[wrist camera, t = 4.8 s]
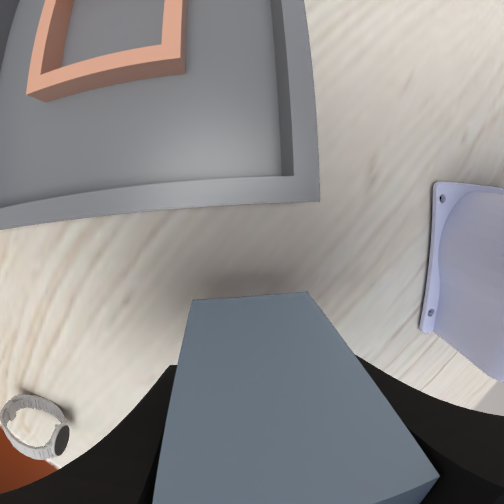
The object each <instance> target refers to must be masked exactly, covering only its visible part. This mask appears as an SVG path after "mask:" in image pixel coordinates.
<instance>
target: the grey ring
mask: <svg viewBox="0 0 504 504" xmlns="http://www.w3.org/2000/svg"><path fill="white" fill-rule="evenodd" d="M17 396H18V397H17ZM17 396H14V397H13V398H12V399H11V400H9V401H8V402H7V403H6V404H5V406H4V407H3V409H2V410H1V412H0V421H1V423H2V426H3V429H4V432H5V434H6V436H7V437H8V439H9V440H10V441H11V443H12V445H13V446H14V447H16V449H17V450H18V451H20V452H21V453H23V454H24V455H26V456H28V457H31V458H33V459H37V460H38V459H39V460H43V459H47V458H54V457H55V456H60V455H61V454H62V453H63V452H64V450H65V448H66V446H67V443H68V440H69V427H68V425H67V424H66V419H65V417H64V415H63V413H62V411H61V410H60V408H59V407H58V406H57V405H55V403H53V402H51V401H50V400H49V401H48V400H47V399H45V398H43V397H41V398H40V397H39V396H34V395H33V396H32V395H27V394H26V395H24V394H21V395H17ZM23 400H24V401H23ZM28 402H29V403H28ZM27 407H28V408H33V409H34V407H35V409H39V410H42V409H43V411H46V412H48V413H49V412H50V413H51V414H52V415H54V416H55V417H56V418H57V419H58V420H59V421H60V422H61V424H59V425H57V424H56V425H55V428H56V429H55V430H54V432H53V434H52V437H51V439H50V440H49V442H47V443H46V445H45V446H44V447H43V446H41V447H36V448H35V447H33V446H29V445H26V444H24V443H22V442H21V441H19V440H18V439H16V438H15V437H14V436H13V435H12V434H11V432H10V431H9V430H8V428H7V422H8V421H9V420H10V421H12V420H14V418H15V417H16V411H18V410H19V409H20V408H27ZM50 447H51V449H50Z"/></svg>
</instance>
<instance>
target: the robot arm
mask: <svg viewBox="0 0 504 504" xmlns="http://www.w3.org/2000/svg"><path fill="white" fill-rule="evenodd" d="M440 195H441V201H440V200H439V197H440ZM430 309H431V310H430ZM429 310H430V312H429ZM428 312H429V313H428ZM420 331H422V332H423V333H430V332H434V333H436V334H437V335H438V336H440V337H441V338H442V339H443V340H445V341H446V342H447V343H448V344H450V345H451V346H452V347H453V348H455V349H456V350H457V351H458V352H460V353H461V354H462V355H463V356H465V357H466V358H467V359H468V360H469V361H471V362H472V363H473V364H474V365H475V366H477V367H478V368H479V369H480V370H482V371H483V372H484V373H485V374H487V375H488V376H490V377H492V378H494V379H496V380H498V381H500V382H503V383H504V188H499V187H491V186H483V185H474V184H464V183H454V182H443V181H438V182H436V183H435V184H434V186H433V211H432V232H431V246H430V257H429V267H428V276H427V284H426V291H425V298H424V304H423V310H422V316H421V321H420ZM354 355H355V354H354ZM355 356H356V358H357V359H358V360H359V362H360V363H361V364H362V366H363V367H364V369H365V370H366V371H367V373H368V374H369V375H370V377H371V378H372V380H373V381H374V382H375V384H376V385H377V387H378V388H379V389H380V391H381V392H382V394H383V395H384V396H385V398H386V399H387V401H388V402H389V403H390V405H391V406H392V408H393V409H394V410H395V412H396V413H397V415H398V416H399V417H400V419H401V420H402V422H403V423H404V425H405V426H406V427H407V429H408V430H409V432H410V433H411V435H412V436H413V437H414V439H415V440H416V442H417V443H418V445H419V446H420V448H421V449H422V450H423V452H424V453H425V455H426V456H427V458H428V459H429V461H430V462H431V464H432V465H433V467H434V468H435V469H436V471H437V472H438V474H439V475H440V477H439V478H438V480H437V481H436V482H435V484H434V485H433V487H432V488H431V489H430V491H429V492H428V493H427V495H426V496H425V497H424V499H423V500H422V501H421V502H420V504H504V416H499V415H493V414H487V413H483V412H478V411H474V410H470V409H466V408H463V407H459V406H456V405H453V404H451V403H448V402H445V401H442V400H439V399H437V398H434V397H432V396H429V395H427V394H425V393H423V392H421V391H419V390H417V389H414V388H412V387H410V386H408V385H406V384H405V383H403V382H401V381H399V380H397V379H395V378H393V377H392V376H390V375H388V374H386V373H385V372H383V371H381V370H380V369H378V368H376V367H375V366H373V365H371V364H370V363H368V362H366V361H365V360H363V359H362V358H360V357H358V356H357V355H355ZM176 370H177V365H170V366H169V367H168V368H167V369H166V370H165V372H164V373H163V374H162V375H161V377H160V378H159V379H158V381H157V382H156V383H155V384H154V386H153V387H152V388H151V389H150V390H149V392H148V393H147V394H146V395H145V396H144V398H143V399H142V400H141V401H140V402H139V403H138V404H137V406H136V407H135V408H134V409H133V410H132V411H131V412H130V413H129V414H128V415H127V416H126V417H125V418H124V419H123V420H122V421H121V422H120V423H119V424H118V425H117V426H116V427H115V428H114V429H113V430H112V431H111V432H110V433H109V434H108V435H107V436H106V437H104V438H103V439H102V440H101V441H100V442H98V443H97V444H96V445H95V446H93V447H92V448H91V449H90V450H88V451H87V452H85V453H84V454H83V455H81V456H79V457H78V458H76V459H75V460H73V461H72V462H70V463H69V464H67V465H65V466H64V467H62V468H61V469H59V470H57V471H56V472H54V473H52V474H50V475H48V476H46V477H44V478H42V479H40V480H38V481H35V482H33V483H31V484H29V485H26V486H23V487H21V488H19V489H15V490H12V491H9V492H6V493H2V494H0V504H152V503H153V496H154V489H155V483H156V476H157V470H158V464H159V458H160V452H161V446H162V441H163V435H164V430H165V424H166V419H167V414H168V409H169V404H170V399H171V394H172V389H173V384H174V379H175V374H176Z"/></svg>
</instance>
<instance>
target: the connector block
mask: <svg viewBox="0 0 504 504" xmlns="http://www.w3.org/2000/svg"><path fill="white" fill-rule="evenodd" d="M439 477H440V475H439V474H438V472H437V471H436V469H435V468H434V467H433V465H432V464H431V462H430V461H429V459H428V458H427V456H426V455H425V453H424V452H423V450H422V449H421V448H420V446H419V445H418V443H417V442H416V440H415V439H414V437H413V436H412V435H411V433H410V432H409V430H408V429H407V427H406V426H405V425H404V423H403V422H402V420H401V419H400V417H399V416H398V415H397V413H396V412H395V410H394V409H393V408H392V406H391V405H390V403H389V402H388V401H387V399H386V398H385V396H384V395H383V394H382V392H381V391H380V389H379V388H378V387H377V385H376V384H375V382H374V381H373V380H372V378H371V377H370V375H369V374H368V373H367V371H366V370H365V369H364V367H363V366H362V364H361V363H360V362H359V360H358V359H357V358H356V356H355V355H354V353H353V352H352V351H351V349H350V348H349V347H348V345H347V344H346V342H345V341H344V340H343V338H342V337H341V336H340V334H339V333H338V332H337V330H336V329H335V328H334V326H333V325H332V323H331V322H330V321H329V319H328V318H327V317H326V315H325V314H324V313H323V311H322V310H321V309H320V307H319V306H318V305H317V303H316V302H315V301H314V299H313V298H312V297H311V295H310V294H309V293H308V292H297V293H286V294H274V295H261V296H248V297H234V298H218V299H201V300H192V304H191V308H190V312H189V316H188V320H187V325H186V329H185V333H184V338H183V342H182V347H181V351H180V356H179V360H178V365H177V370H176V374H175V379H174V384H173V389H172V394H171V399H170V404H169V409H168V414H167V419H166V424H165V430H164V435H163V441H162V446H161V452H160V458H159V464H158V470H157V476H156V483H155V489H154V496H153V503H152V504H420V502H421V501H422V500H423V499H424V497H425V496H426V495H427V493H428V492H429V491H430V489H431V488H432V487H433V485H434V484H435V482H436V481H437V480H438V478H439Z"/></svg>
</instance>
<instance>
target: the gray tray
mask: <svg viewBox="0 0 504 504" xmlns="http://www.w3.org/2000/svg"><path fill="white" fill-rule="evenodd" d="M287 202H320V183H319V155H318V135H317V119H316V105H315V92H314V81H313V70H312V60H311V51H310V42H309V34H308V26H307V19H306V12H305V5H304V0H0V230H3V229H9V228H15V227H21V226H28V225H35V224H42V223H49V222H56V221H64V220H72V219H80V218H88V217H97V216H106V215H115V214H125V213H135V212H145V211H157V210H168V209H181V208H194V207H209V206H224V205H242V204H262V203H287Z"/></svg>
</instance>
